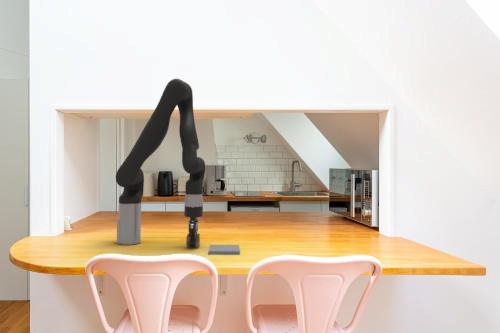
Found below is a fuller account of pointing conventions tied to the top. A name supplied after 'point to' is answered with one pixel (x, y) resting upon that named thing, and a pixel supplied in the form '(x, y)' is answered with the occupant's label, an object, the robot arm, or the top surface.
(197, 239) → the walnut cube
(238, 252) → the plate
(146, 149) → the robot arm
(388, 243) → the top surface
